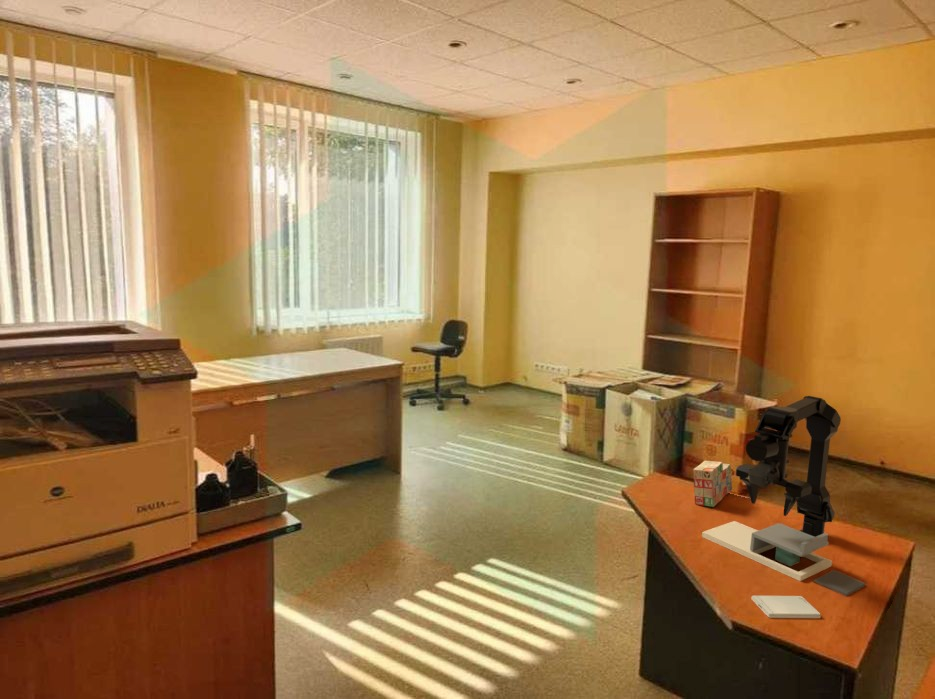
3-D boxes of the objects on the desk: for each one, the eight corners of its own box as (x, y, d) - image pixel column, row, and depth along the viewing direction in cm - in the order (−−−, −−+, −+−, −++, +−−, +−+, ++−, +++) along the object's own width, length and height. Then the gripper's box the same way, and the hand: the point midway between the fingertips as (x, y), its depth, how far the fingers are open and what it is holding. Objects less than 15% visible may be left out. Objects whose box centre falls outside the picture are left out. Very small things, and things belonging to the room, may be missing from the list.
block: (783, 555, 177) (785, 539, 176) (799, 562, 174) (801, 545, 173) (774, 559, 175) (776, 542, 174) (790, 566, 171) (792, 549, 170)
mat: (833, 572, 169) (833, 569, 169) (865, 585, 162) (865, 583, 162) (813, 581, 163) (814, 579, 163) (846, 596, 157) (846, 593, 157)
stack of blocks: (714, 487, 229) (712, 454, 228) (732, 489, 225) (730, 455, 224) (694, 504, 212) (692, 468, 211) (713, 507, 208) (712, 470, 207)
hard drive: (800, 595, 154) (751, 594, 154) (821, 614, 146) (769, 613, 146) (800, 601, 155) (750, 600, 154) (820, 620, 147) (768, 619, 146)
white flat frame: (733, 525, 196) (734, 520, 196) (831, 566, 172) (832, 560, 172) (701, 536, 187) (702, 531, 187) (800, 581, 163) (800, 575, 163)
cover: (777, 539, 183) (779, 515, 182) (826, 559, 172) (829, 533, 171) (749, 550, 176) (752, 524, 175) (799, 572, 164) (803, 545, 163)
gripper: (726, 449, 173) (720, 503, 176) (792, 470, 158) (785, 528, 160) (750, 443, 179) (744, 495, 182) (816, 463, 164) (808, 519, 166)
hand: (768, 509), depth 172 cm, fingers open, 9 cm apart
